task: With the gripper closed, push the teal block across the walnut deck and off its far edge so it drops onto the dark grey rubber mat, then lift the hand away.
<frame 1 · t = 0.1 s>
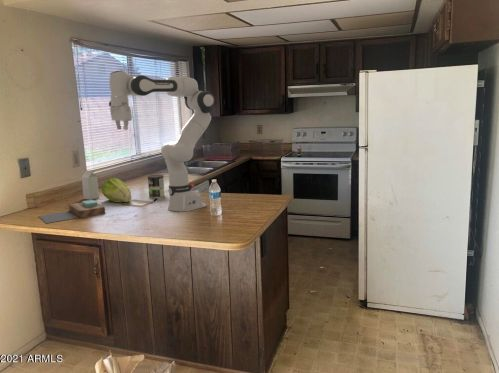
hand: (122, 129, 222), 48 cm above the worktop, tool pointing down, fingers open, 8 cm apart
lettuce: (119, 201, 274), on the worktop
teal block: (89, 205, 247), point 4 cm above the worktop, touching walnut deck
walnut deck: (87, 212, 247), on the worktop
grey mat: (57, 217, 237), on the worktop
milk carton: (91, 198, 285), on the worktop
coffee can: (157, 197, 284), on the worktop
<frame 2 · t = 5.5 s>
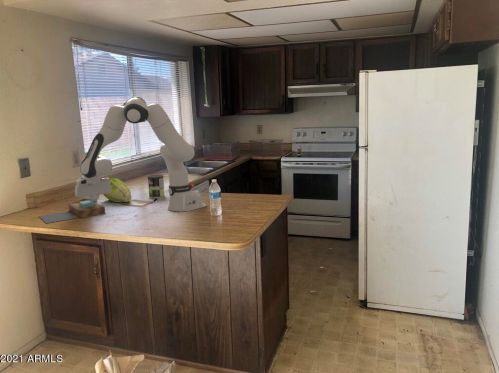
hand: (94, 202, 249), 5 cm above the worktop, tool pointing down, fingers closed
teal block: (87, 205, 246), point 4 cm above the worktop, touching walnut deck
everything else where it was.
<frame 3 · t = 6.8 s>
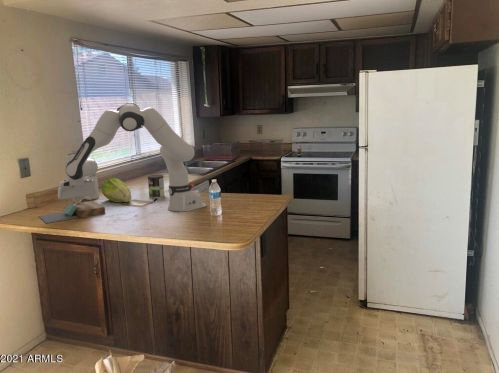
hand: (78, 204, 243), 5 cm above the worktop, tool pointing down, fingers closed
teal block: (72, 210, 242), point 3 cm above the worktop, tilted 50°
everything else where it was.
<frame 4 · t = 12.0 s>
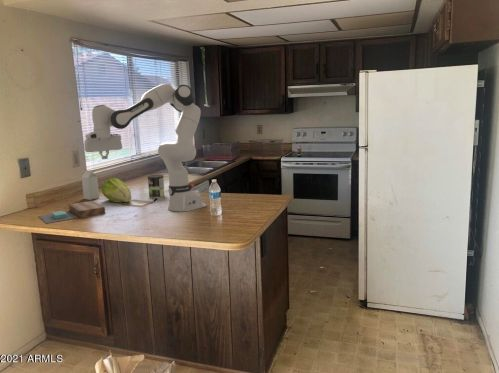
hand: (104, 159, 239), 31 cm above the worktop, tool pointing down, fingers closed
teal block: (59, 213, 238), point 2 cm above the worktop, tilted 180°, touching grey mat
everything else where it was.
at the end: teal block point 2.3 cm above the worktop; teal block inside the target area (1.5 cm from its centre), point 2.3 cm above the worktop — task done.
